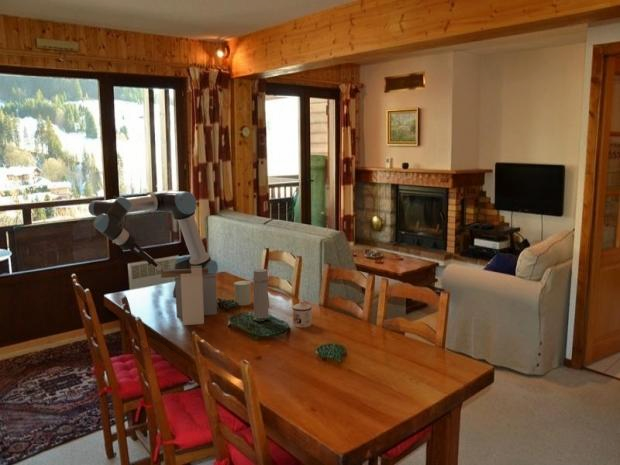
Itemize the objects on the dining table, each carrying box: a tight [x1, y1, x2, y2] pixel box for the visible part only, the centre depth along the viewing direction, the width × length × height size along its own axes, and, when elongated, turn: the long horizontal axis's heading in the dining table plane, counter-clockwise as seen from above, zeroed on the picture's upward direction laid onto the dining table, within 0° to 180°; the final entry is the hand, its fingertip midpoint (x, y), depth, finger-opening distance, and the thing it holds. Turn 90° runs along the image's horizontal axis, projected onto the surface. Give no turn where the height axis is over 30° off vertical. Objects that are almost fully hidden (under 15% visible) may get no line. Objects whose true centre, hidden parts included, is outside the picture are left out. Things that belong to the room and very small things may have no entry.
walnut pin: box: [160, 268, 208, 279], centre depth 258 cm, size 3×22×3 cm, turn 103°
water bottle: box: [252, 268, 270, 318], centre depth 262 cm, size 9×8×25 cm
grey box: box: [174, 272, 218, 318], centre depth 273 cm, size 7×20×20 cm, turn 103°
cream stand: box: [181, 266, 205, 326], centre depth 260 cm, size 10×10×27 cm
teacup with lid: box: [292, 300, 313, 329], centre depth 254 cm, size 12×9×12 cm
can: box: [233, 280, 252, 307], centre depth 293 cm, size 9×9×12 cm
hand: (156, 265), depth 263 cm, fingers open, 13 cm apart
